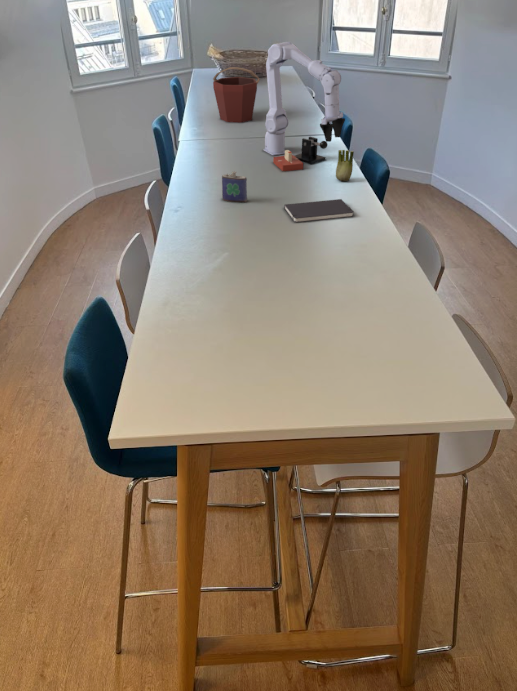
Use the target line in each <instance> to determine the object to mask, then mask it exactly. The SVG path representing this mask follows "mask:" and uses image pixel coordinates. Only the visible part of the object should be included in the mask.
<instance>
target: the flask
mask: <svg viewBox="0 0 517 691" xmlns="http://www.w3.org/2000/svg"><path fill="white" fill-rule="evenodd" d="M247 180H248V178H247V177H246V176H243V175H237V171H235V170H234V171H232V172H231V174H230V173H229V174H228V173H226V174H222V176H221V188H222V190H221V191H222V192H221V193H222V201H224V202H229V203H230V202H231V203H247V201H248V187H247V186H248V184H247Z"/></svg>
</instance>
